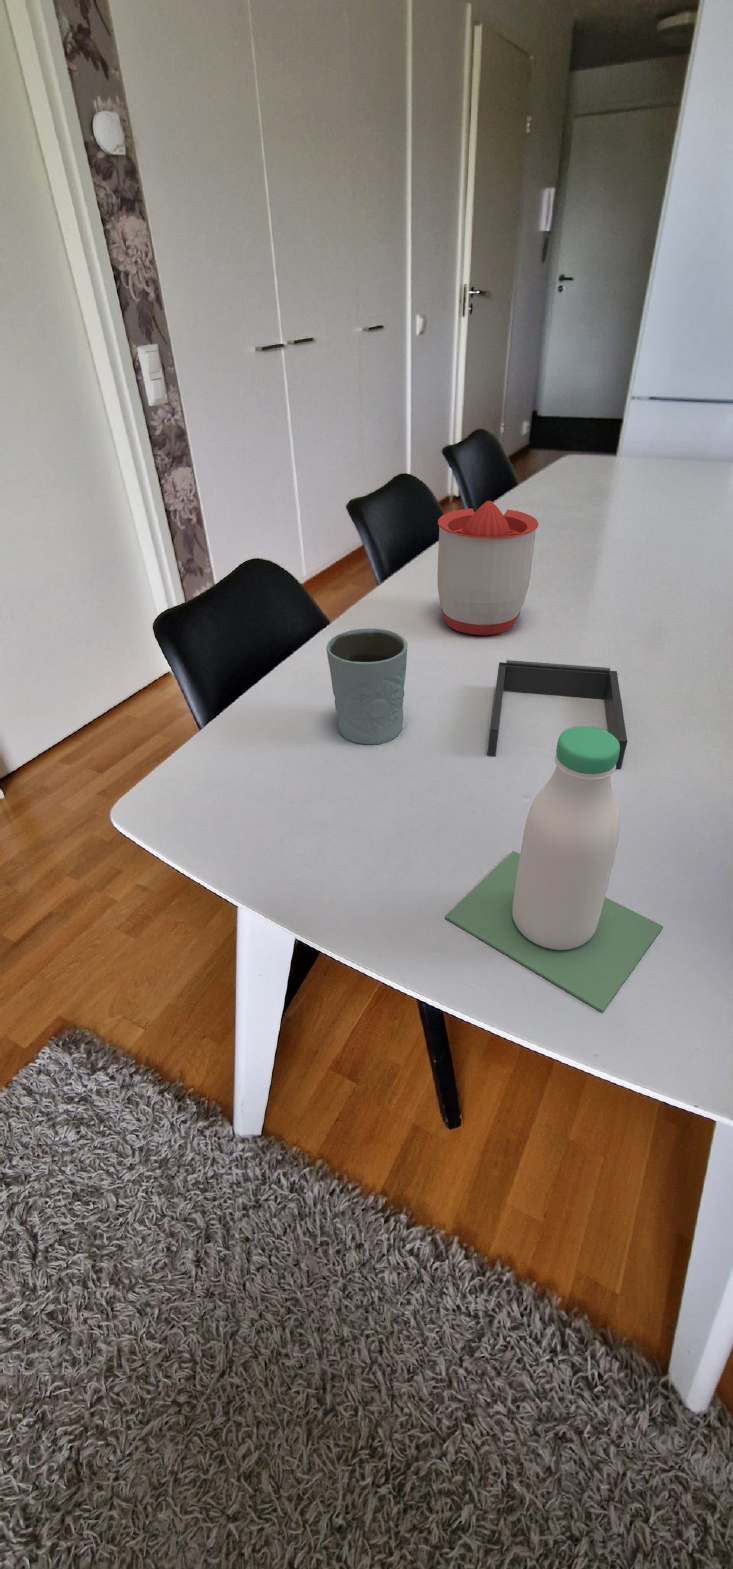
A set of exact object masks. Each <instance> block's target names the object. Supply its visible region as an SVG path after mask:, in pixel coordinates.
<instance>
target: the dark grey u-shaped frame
mask: <svg viewBox="0 0 733 1569" xmlns="http://www.w3.org/2000/svg"><path fill="white" fill-rule="evenodd" d="M496 675H497V676H496V683H495V689H494V698H493V704H492V713H491V720H490V725H489V726H490V727H489V735H488V736H489V737H488V744H487V746H488V747H487V756H489V757H496V755H497V747H498V739H499V730H500V723H501V714H502V705H503V698H504V692H512V693H513V692H515V693H524V694H525V693H527V694H537V695H538V694H539V695H550V696H563V697H573V698H574V697H575V698H576V697H577V698H586V699H587V698H588V699H599V700H604V707H605V715H606V725H607V732H609V733H610V734H612V735H613V736H614V737H615V738H616V739H617V740H618V742H619V744H620V752H619V757H618V761H617V763H616V769H617V770H621V769H622V766H623V762H624V758H625V753H626V750H627V745H628V736H627V731H626V729H627V728H626V722H625V717H624V711H623V710H624V708H623V704H622V697H621V690H620V684H619V677H618V671H617V670H611V668H610V667H606V666H605V667H604V666H603V667H602V666H591V665H589V666H588V665H576V664H563V663H549V662H537V661H526V660H525V661H523V660H509V659H507V660H506V662H502V661H499V662H498V668H497V674H496ZM616 769H615V770H616Z"/></svg>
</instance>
